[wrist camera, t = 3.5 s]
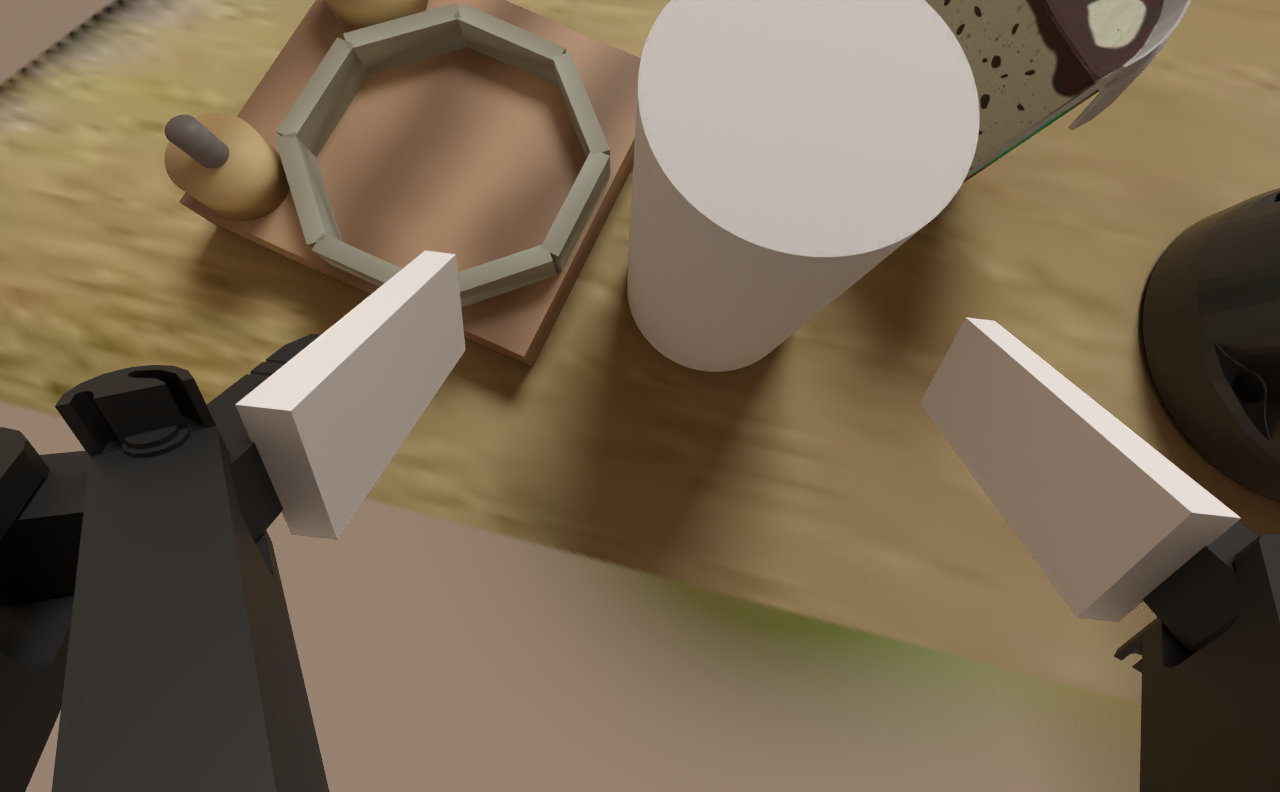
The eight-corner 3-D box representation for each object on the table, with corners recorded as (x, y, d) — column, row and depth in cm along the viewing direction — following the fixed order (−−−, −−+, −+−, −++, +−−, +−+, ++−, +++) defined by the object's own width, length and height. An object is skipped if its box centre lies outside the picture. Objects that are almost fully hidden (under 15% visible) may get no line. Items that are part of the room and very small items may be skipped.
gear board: (664, 102, 25) (676, 5, 20) (532, 367, 22) (507, 334, 17) (378, -21, 25) (317, -148, 20) (216, 226, 23) (100, 152, 18)
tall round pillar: (824, 257, 24) (1027, 41, 12) (751, 403, 23) (899, 320, 11) (676, 180, 24) (733, -103, 12) (595, 320, 23) (573, 151, 11)
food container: (1027, 197, 25) (1294, 13, 15) (924, 242, 24) (1135, 82, 14) (907, 3, 27) (1079, -277, 17) (808, 41, 26) (925, -228, 16)
